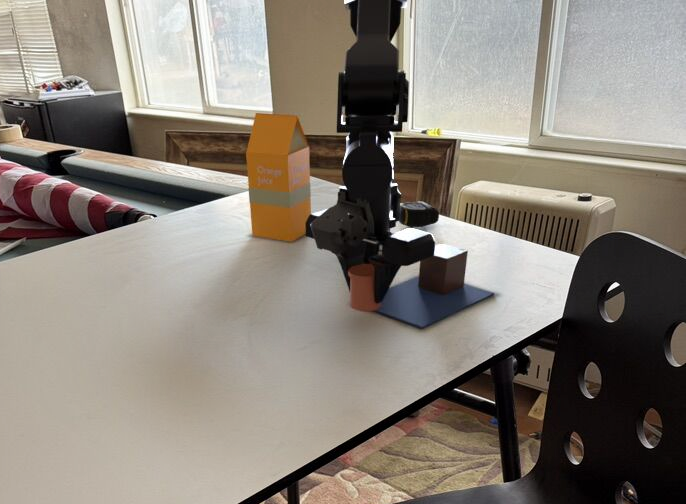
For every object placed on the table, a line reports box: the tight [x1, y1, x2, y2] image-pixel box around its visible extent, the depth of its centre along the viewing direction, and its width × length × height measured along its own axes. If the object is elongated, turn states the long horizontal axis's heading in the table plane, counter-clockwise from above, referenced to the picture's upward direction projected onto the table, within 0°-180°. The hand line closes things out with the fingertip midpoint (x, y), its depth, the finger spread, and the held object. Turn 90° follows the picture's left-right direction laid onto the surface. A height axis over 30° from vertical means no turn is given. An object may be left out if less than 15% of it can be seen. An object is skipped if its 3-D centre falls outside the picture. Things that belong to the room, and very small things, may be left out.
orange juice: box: [245, 112, 312, 243], centre depth 126 cm, size 8×9×20 cm
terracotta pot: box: [348, 264, 381, 312], centre depth 96 cm, size 5×5×5 cm
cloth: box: [372, 275, 495, 330], centre depth 104 cm, size 13×17×1 cm
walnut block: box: [418, 243, 469, 295], centre depth 106 cm, size 5×5×6 cm
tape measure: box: [398, 200, 440, 229], centre depth 132 cm, size 7×7×4 cm
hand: (365, 298), depth 97 cm, fingers closed on terracotta pot, 4 cm apart
